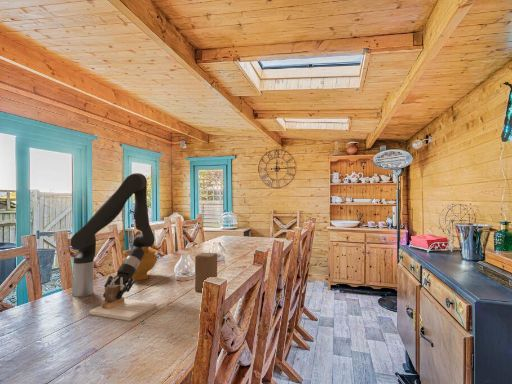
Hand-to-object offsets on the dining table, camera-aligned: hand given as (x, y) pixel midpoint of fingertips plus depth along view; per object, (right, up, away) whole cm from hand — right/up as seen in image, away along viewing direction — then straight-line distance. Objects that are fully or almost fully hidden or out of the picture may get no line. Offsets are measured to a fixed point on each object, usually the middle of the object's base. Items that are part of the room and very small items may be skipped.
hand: (110, 298), depth 141 cm
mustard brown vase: (-7, -6, +55) cm, 55 cm away
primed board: (+6, -5, 0) cm, 8 cm away
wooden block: (+39, -6, +30) cm, 50 cm away
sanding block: (+1, -4, +1) cm, 4 cm away
